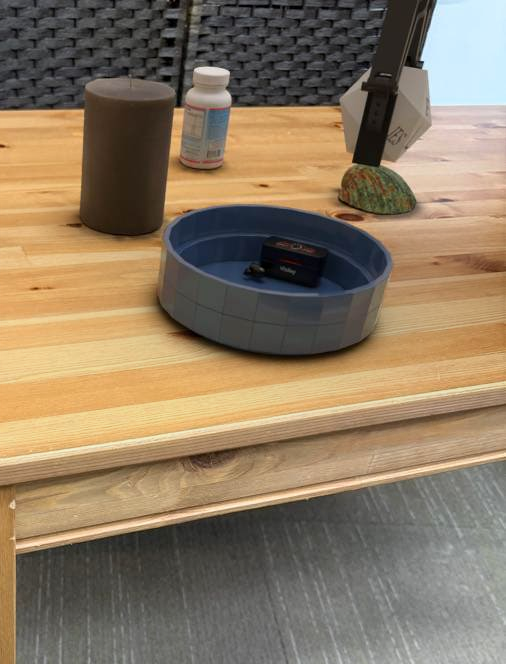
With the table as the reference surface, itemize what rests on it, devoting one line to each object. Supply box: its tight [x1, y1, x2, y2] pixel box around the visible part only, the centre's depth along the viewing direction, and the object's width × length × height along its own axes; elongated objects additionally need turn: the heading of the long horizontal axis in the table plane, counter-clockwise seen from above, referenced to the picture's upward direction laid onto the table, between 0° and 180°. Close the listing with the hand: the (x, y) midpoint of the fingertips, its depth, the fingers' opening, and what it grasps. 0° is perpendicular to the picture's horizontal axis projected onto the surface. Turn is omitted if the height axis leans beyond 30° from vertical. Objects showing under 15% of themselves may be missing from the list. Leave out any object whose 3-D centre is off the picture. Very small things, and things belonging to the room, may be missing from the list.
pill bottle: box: [179, 66, 232, 170], centre depth 108 cm, size 6×6×11 cm
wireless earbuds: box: [243, 236, 329, 287], centre depth 82 cm, size 5×7×3 cm, turn 62°
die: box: [338, 66, 433, 163], centre depth 83 cm, size 8×9×10 cm
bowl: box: [156, 203, 395, 356], centre depth 78 cm, size 21×21×6 cm
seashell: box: [338, 164, 417, 215], centre depth 103 cm, size 10×4×10 cm
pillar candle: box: [79, 74, 176, 236], centre depth 89 cm, size 10×10×15 cm
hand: (375, 150), depth 85 cm, fingers closed on die, 10 cm apart
